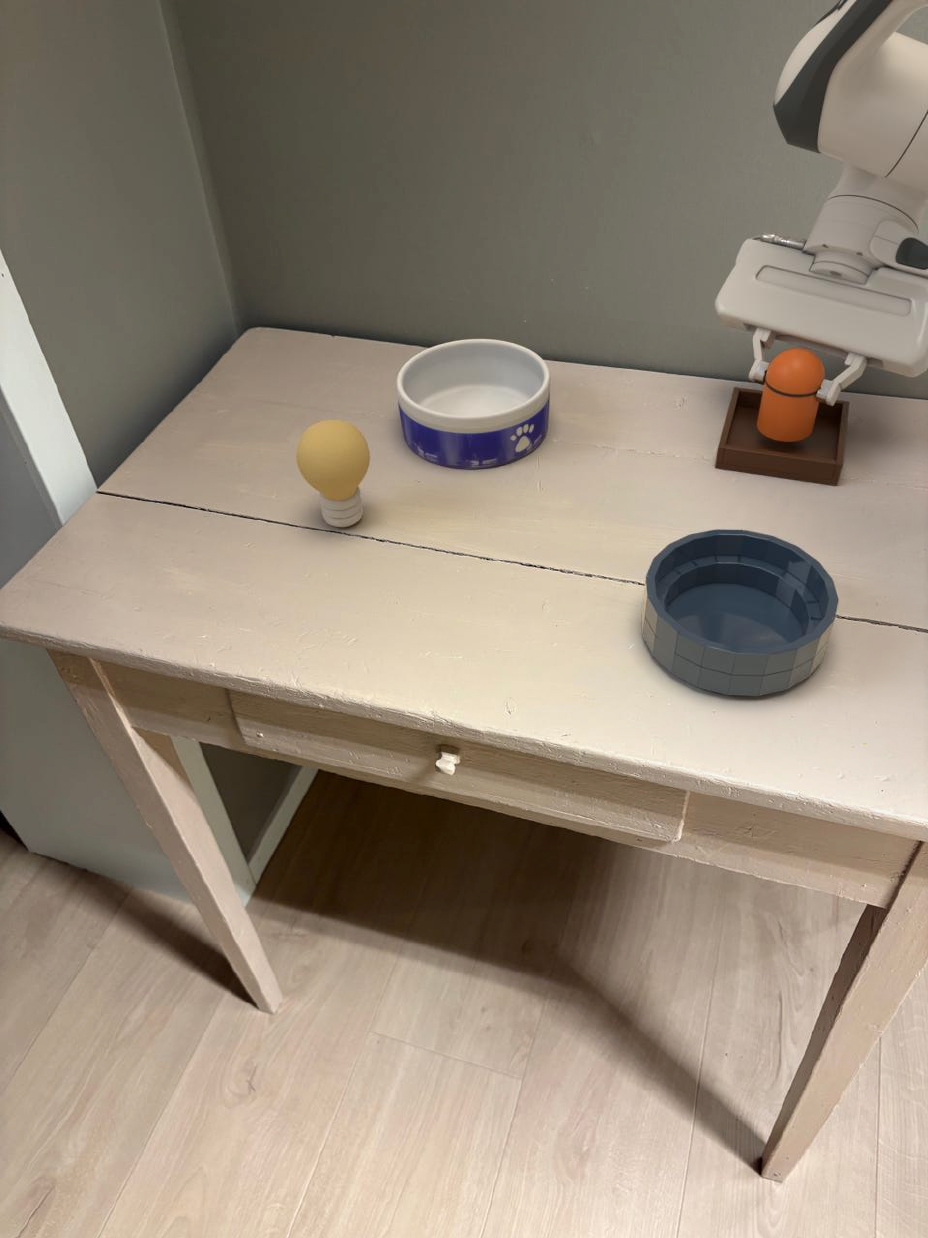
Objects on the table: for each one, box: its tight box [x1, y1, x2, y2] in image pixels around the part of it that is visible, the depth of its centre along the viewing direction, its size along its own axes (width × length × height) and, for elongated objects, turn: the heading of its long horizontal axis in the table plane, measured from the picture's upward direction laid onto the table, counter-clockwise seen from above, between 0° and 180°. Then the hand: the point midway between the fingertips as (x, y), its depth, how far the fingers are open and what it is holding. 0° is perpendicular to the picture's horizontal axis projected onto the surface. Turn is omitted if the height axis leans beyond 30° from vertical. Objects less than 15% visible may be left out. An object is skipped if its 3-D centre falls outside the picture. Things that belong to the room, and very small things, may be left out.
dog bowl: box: [395, 338, 551, 470], centre depth 97 cm, size 15×15×6 cm
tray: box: [714, 386, 850, 487], centre depth 93 cm, size 11×11×2 cm
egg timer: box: [757, 347, 826, 442], centre depth 90 cm, size 5×5×8 cm
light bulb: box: [296, 419, 371, 528], centre depth 85 cm, size 6×6×10 cm
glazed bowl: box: [640, 528, 839, 697], centre depth 74 cm, size 14×14×5 cm
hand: (790, 391), depth 89 cm, fingers closed on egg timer, 5 cm apart
